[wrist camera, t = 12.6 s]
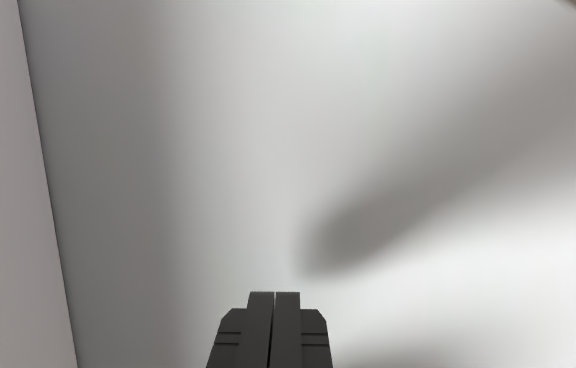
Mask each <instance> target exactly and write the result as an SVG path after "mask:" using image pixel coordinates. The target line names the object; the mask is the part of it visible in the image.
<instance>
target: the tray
mask: <svg viewBox="0 0 576 368" xmlns="http://www.w3.org/2000/svg"><path fill="white" fill-rule="evenodd" d="M0 368H78V367H77V361H76V354H75V348H74V342H73V336H72V330H71V324H70V318H69V312H68V306H67V300H66V294H65V288H64V282H63V276H62V270H61V264H60V258H59V252H58V246H57V239H56V233H55V227H54V221H53V215H52V209H51V203H50V197H49V191H48V185H47V179H46V173H45V167H44V161H43V155H42V149H41V143H40V137H39V130H38V124H37V118H36V112H35V106H34V100H33V94H32V88H31V82H30V76H29V70H28V64H27V58H26V52H25V46H24V40H23V34H22V28H21V21H20V15H19V9H18V3H17V0H0Z"/></svg>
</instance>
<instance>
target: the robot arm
mask: <svg viewBox="0 0 576 368" xmlns="http://www.w3.org/2000/svg"><path fill="white" fill-rule="evenodd" d="M206 368H333V365H332V358H331V352H330V347H329V338H328V332H327V325H326V320H325V319H324V318H323V316H322V315H321V314H320V312H319V311H318V310H317V309H300V292H276V298H275V297H274V292H250V295H249V300H248V304H247V309H239V308H232V309H231V310H230V311H229V312H228V313H227V314H226V315H225V316H224V317H223V318H222V319H221V322H220V326H219V329H218V332H217V335H216V338H215V341H214V346H213V347H212V350H211V353H210V356H209V360H208V363H207V366H206Z"/></svg>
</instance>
